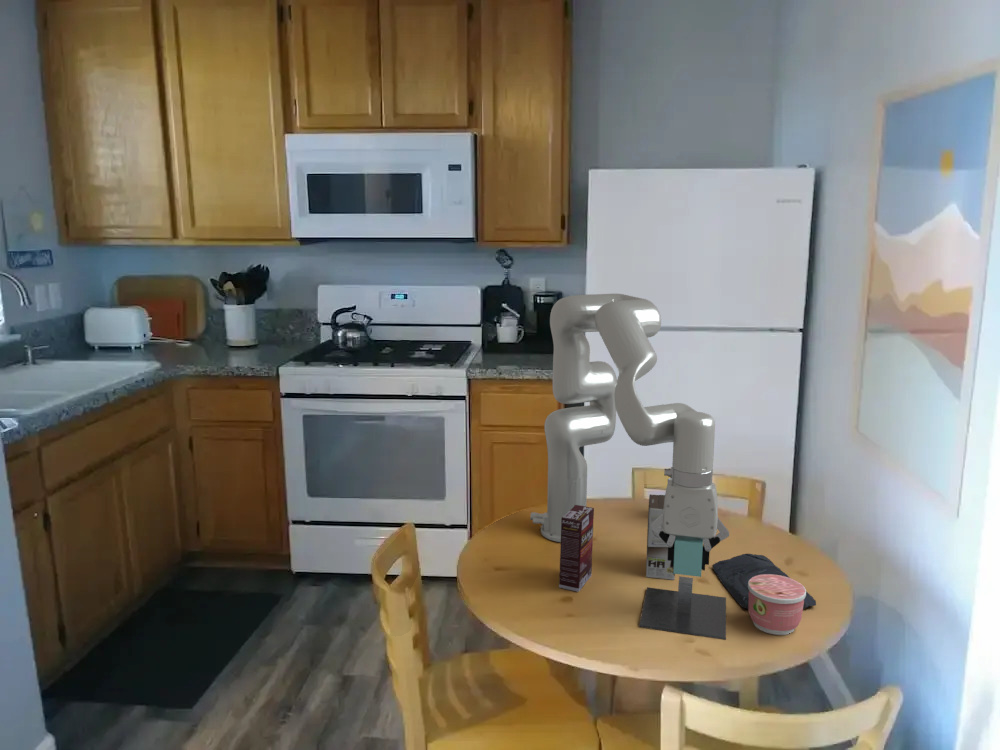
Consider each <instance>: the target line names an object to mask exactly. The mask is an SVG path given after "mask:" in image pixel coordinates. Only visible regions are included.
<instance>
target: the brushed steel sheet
mask: <svg viewBox="0 0 1000 750" xmlns="http://www.w3.org/2000/svg"><path fill="white" fill-rule="evenodd" d="M678 577H679V578H678V587H677V588H678V590H672V589H671V590H670V589H663V588H655V587H648V586H647V587H646V591H645V596H644V600H643V604H642V606H643V607H642V610H641V615H640V619H639V624H638V628H643V629H644V628H645V629H650V630H657V631H658V630H659V631H665V632H670V633H671V632H672V633H678V634H684V635H690V636H691V635H693V636H699V637H705V638H713V639H719V640H721V639H722V640H727V597H725V596H718V595H717V596H716V595H710V594H701V593H693V581H694V577H690V576H689V577H687V576H680V575H679V576H678Z"/></svg>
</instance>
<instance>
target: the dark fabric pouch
mask: <svg viewBox="0 0 1000 750" xmlns="http://www.w3.org/2000/svg"><path fill="white" fill-rule="evenodd" d="M711 568H713V571H714V573H715V575H716V576H717V578H718V579H719V580H720V583H721V584H722V585H723V586H724V588H725V589H726V590H727V591H728V592H729V594H730V595H731V596H732V598H734V600H735V601H736V602H737V604H739V605H740V606H741V607H742V608H744V609H747V610H748V606H749V589H748V581H749V580H750V579H751V578H752V577H754V576H757V575H763V574H773V575H781V576H785V577H788V578H791V577H790V576H789V575H788V574H787V573H785V572H784V571H783V570H782V569H781V568H779V567H778V566H777V565H775V563H774V562H773V561H772V560H771V559H770V558H768V556H765V555H763V554H755V553H754V554H753V553H743V554H740V555H737V556H733V557H730V558H729V559H724V560H719V561H718V562H715V563H713V564H712V567H711ZM814 606H817V601H816V599H814V597H813V596H812V595H811V594H810V593H809V592H807V591H806V597H805V599H804V605H803V610H805V609H807V608H809V607H814Z"/></svg>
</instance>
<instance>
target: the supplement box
mask: <svg viewBox="0 0 1000 750" xmlns="http://www.w3.org/2000/svg"><path fill="white" fill-rule="evenodd" d="M594 512H595V508H594V507H589V506H587V505H586V506H580V505H574V507H573V508H572V509H571V510H570V511H569V512H568V513H567V514H566V515H564V516H563V517H562V518H561V542H560V552H559V553H560V554H559V555H560V557H559V577H558V578H559V579H558V581H559V582H558V588H559V589H563V590H568V591H571V592H576V593H579V592H581V590H582V588H583V587H584V585H585V584H586V583H587V582H588V580H589V579H590V578H591V577H592V571H593V570H592V569H593V568H592V567H593V544H594V539H593V538H594V515H595V513H594Z"/></svg>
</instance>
